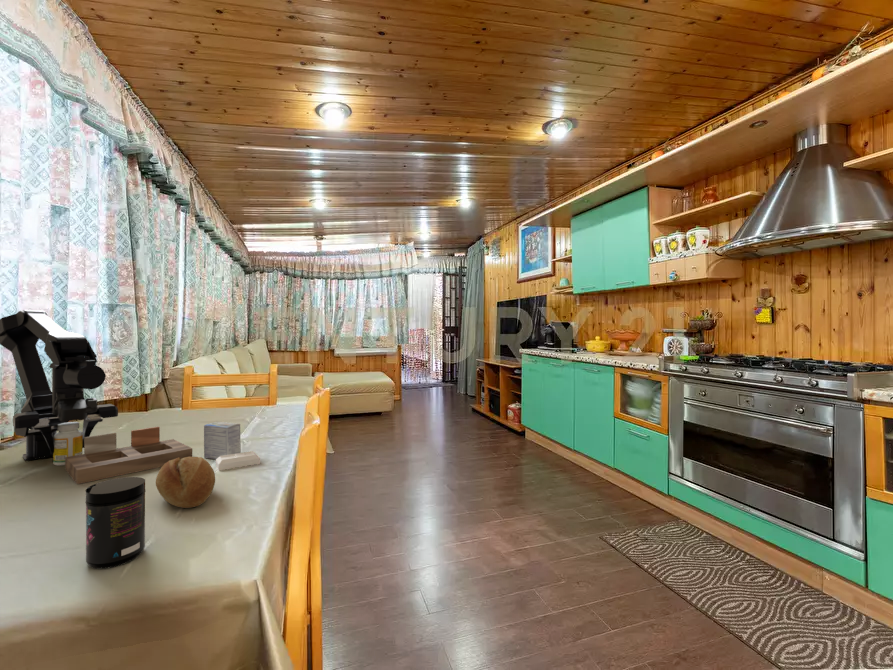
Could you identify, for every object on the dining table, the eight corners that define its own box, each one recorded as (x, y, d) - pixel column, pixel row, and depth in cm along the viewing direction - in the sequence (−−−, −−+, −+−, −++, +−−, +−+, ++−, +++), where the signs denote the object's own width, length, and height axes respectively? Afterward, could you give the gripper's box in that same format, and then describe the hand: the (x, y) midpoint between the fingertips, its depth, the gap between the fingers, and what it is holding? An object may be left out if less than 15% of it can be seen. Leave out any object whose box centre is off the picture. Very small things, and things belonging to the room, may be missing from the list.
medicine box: (241, 456, 109) (241, 423, 109) (227, 461, 105) (227, 426, 105) (218, 453, 112) (218, 421, 111) (203, 458, 107) (203, 424, 107)
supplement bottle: (55, 467, 100) (55, 427, 100) (51, 462, 103) (51, 423, 103) (84, 462, 104) (84, 423, 104) (80, 457, 107) (80, 420, 107)
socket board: (65, 470, 98) (65, 440, 98) (173, 450, 114) (173, 424, 114) (77, 484, 89) (77, 451, 89) (192, 460, 105) (192, 432, 105)
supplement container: (121, 542, 64) (121, 475, 64) (156, 548, 63) (156, 479, 62) (72, 566, 58) (72, 491, 58) (110, 574, 56) (110, 496, 56)
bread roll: (161, 520, 72) (161, 473, 72) (151, 494, 84) (151, 454, 83) (223, 505, 78) (223, 462, 78) (205, 483, 90) (205, 446, 90)
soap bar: (260, 465, 103) (260, 454, 103) (218, 472, 98) (218, 461, 98) (255, 460, 107) (255, 450, 107) (215, 466, 102) (215, 455, 102)
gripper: (17, 394, 91) (17, 466, 91) (123, 386, 105) (123, 448, 105) (12, 389, 98) (12, 456, 98) (112, 382, 112) (112, 440, 112)
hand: (68, 450), depth 103 cm, fingers closed on supplement bottle, 5 cm apart
